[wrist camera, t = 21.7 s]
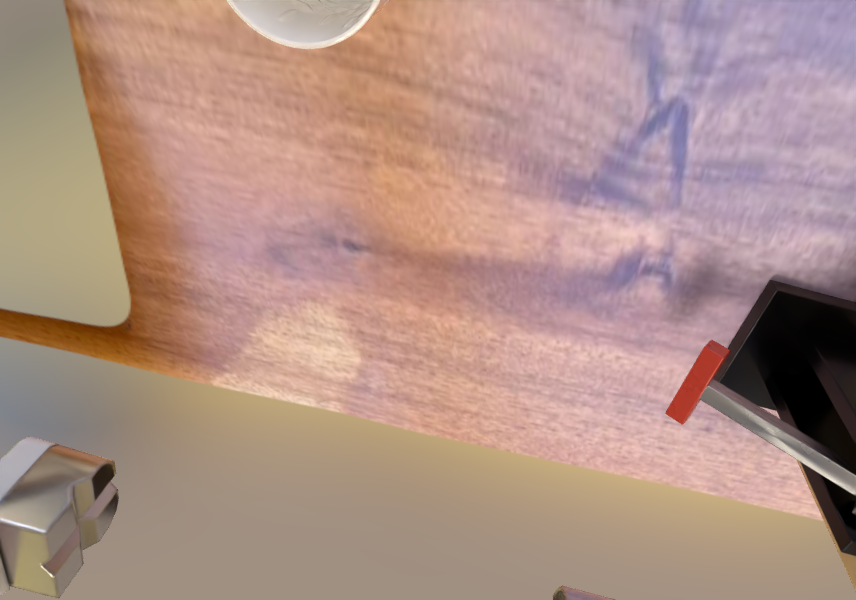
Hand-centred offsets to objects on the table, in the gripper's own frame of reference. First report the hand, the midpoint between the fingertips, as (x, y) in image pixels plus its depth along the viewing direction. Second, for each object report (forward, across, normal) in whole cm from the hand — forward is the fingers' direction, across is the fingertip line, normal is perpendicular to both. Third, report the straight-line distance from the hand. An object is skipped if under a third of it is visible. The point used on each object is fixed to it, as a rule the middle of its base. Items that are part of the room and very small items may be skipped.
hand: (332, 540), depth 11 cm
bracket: (+31, -26, +11) cm, 42 cm away
